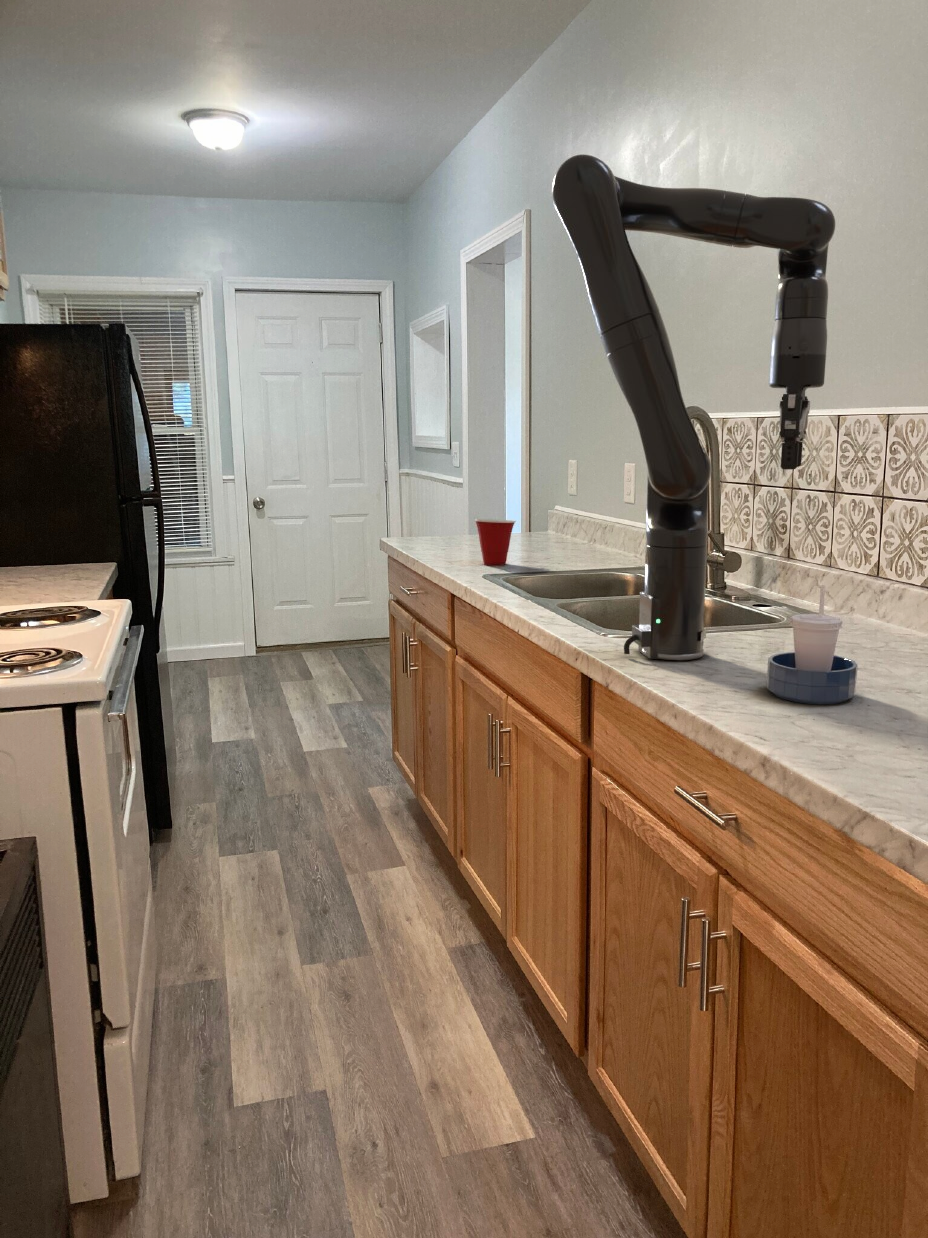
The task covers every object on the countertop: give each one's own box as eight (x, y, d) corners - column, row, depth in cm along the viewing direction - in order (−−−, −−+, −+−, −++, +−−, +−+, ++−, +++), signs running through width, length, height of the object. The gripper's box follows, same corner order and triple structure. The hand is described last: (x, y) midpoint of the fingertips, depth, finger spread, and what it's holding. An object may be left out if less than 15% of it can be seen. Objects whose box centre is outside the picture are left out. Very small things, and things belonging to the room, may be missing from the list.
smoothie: (841, 697, 124) (849, 590, 121) (789, 695, 125) (796, 588, 123) (833, 684, 130) (840, 582, 128) (783, 682, 132) (789, 581, 129)
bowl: (790, 708, 122) (792, 673, 121) (752, 685, 133) (754, 653, 132) (871, 704, 123) (874, 669, 122) (828, 682, 134) (830, 650, 133)
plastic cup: (524, 563, 253) (524, 517, 251) (499, 568, 245) (499, 521, 243) (491, 560, 260) (490, 515, 258) (466, 564, 252) (466, 518, 249)
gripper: (775, 357, 146) (768, 466, 149) (766, 350, 133) (759, 469, 136) (828, 355, 143) (820, 466, 146) (824, 348, 130) (815, 470, 133)
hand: (791, 468), depth 141 cm, fingers open, 8 cm apart
